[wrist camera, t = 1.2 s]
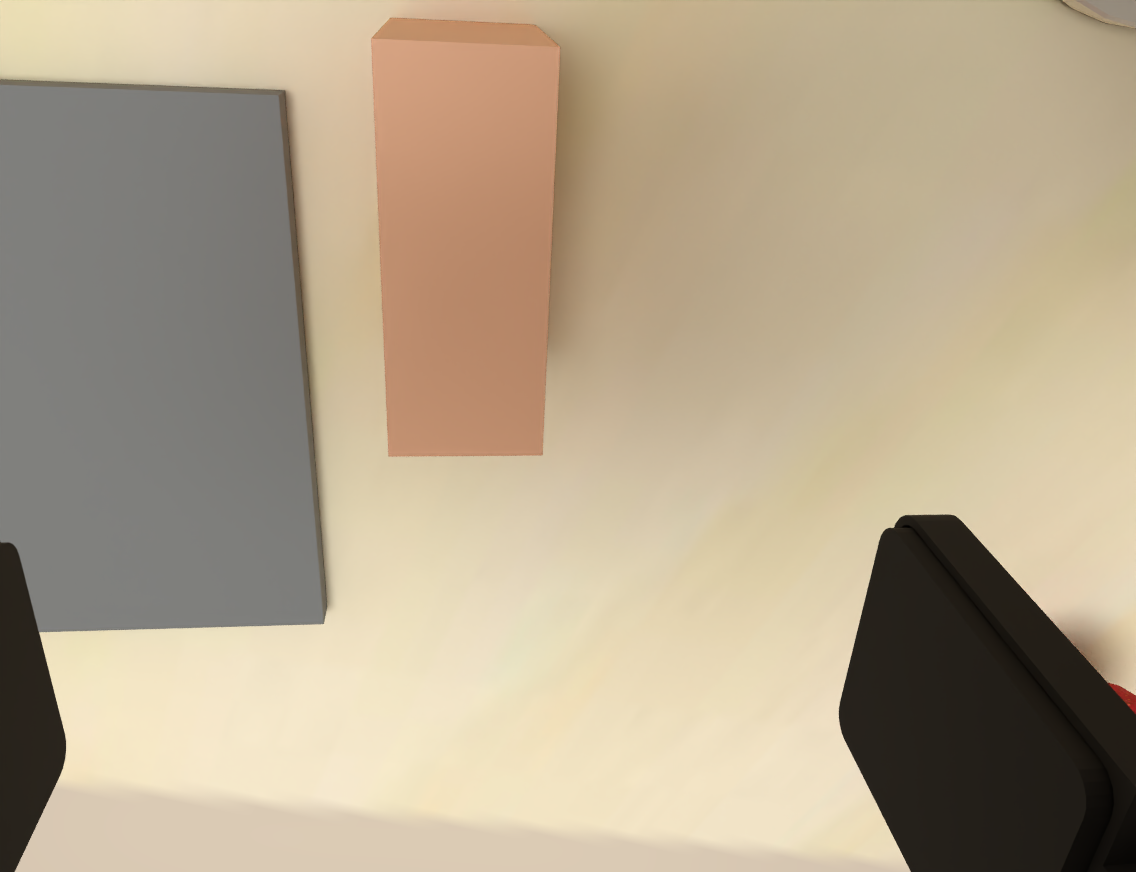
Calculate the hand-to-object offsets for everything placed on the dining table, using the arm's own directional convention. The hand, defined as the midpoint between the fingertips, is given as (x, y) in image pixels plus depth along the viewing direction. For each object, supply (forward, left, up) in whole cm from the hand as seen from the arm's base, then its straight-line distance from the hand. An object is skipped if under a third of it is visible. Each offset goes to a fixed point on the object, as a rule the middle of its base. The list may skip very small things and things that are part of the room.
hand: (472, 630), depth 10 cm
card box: (0, 0, -20) cm, 20 cm away
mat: (+16, +6, -20) cm, 26 cm away
